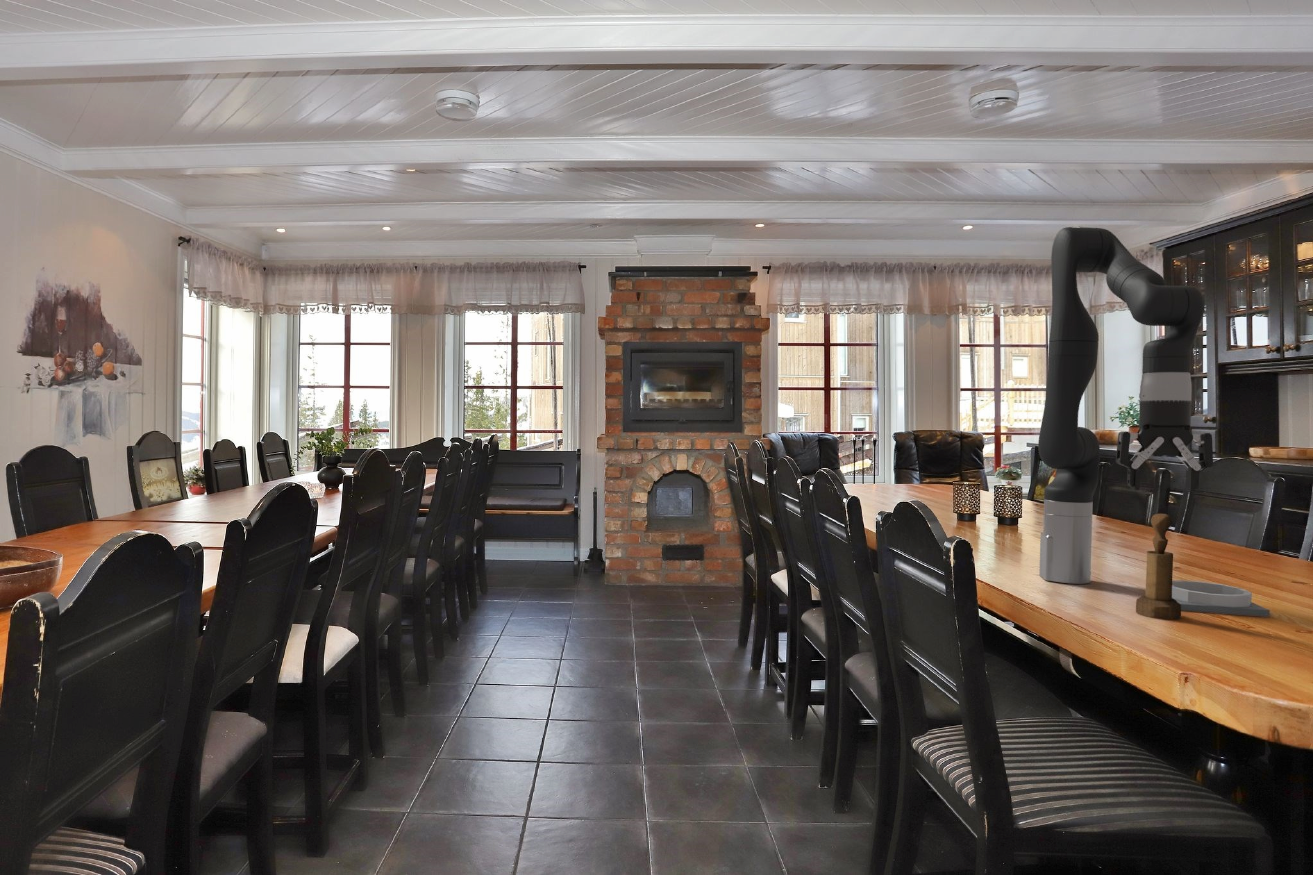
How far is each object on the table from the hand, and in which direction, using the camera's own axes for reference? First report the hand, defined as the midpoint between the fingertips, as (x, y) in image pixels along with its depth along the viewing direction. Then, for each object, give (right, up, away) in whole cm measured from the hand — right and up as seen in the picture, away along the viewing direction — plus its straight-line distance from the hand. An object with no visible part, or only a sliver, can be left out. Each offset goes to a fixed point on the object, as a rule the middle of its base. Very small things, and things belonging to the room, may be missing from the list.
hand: (1162, 491), depth 131 cm
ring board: (+14, -22, +9) cm, 28 cm away
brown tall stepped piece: (0, -22, 0) cm, 22 cm away
